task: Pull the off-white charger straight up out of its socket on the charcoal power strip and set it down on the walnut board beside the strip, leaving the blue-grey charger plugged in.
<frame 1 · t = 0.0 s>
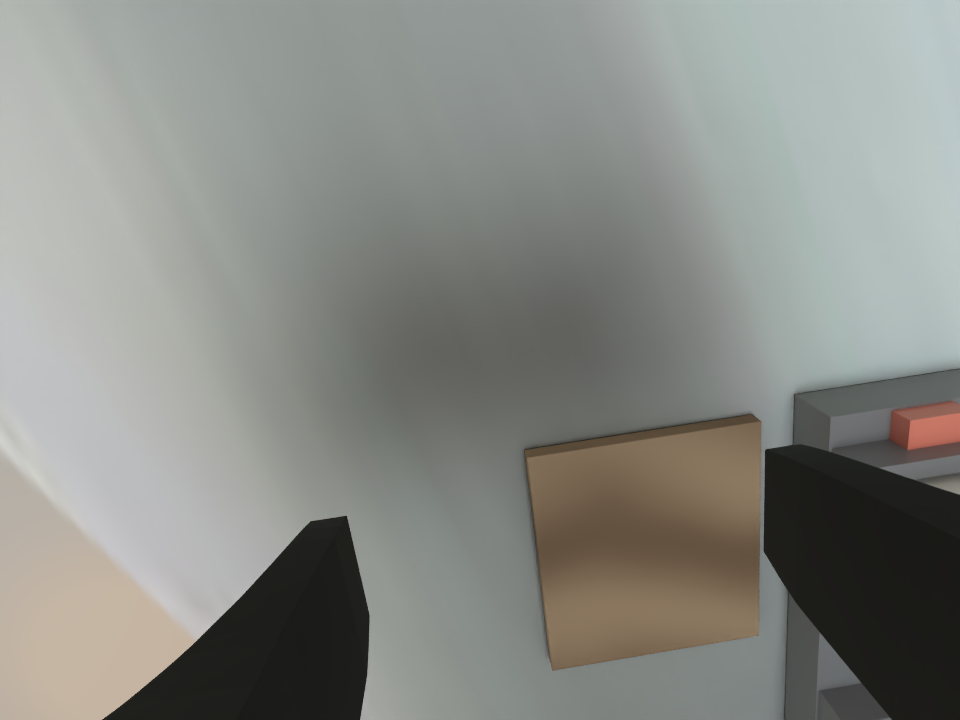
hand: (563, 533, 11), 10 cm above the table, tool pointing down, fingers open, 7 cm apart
white charger: (911, 512, 21), point 2 cm above the table, touching power strip
walnut board: (645, 543, 23), on the table
power strip: (862, 595, 24), on the table
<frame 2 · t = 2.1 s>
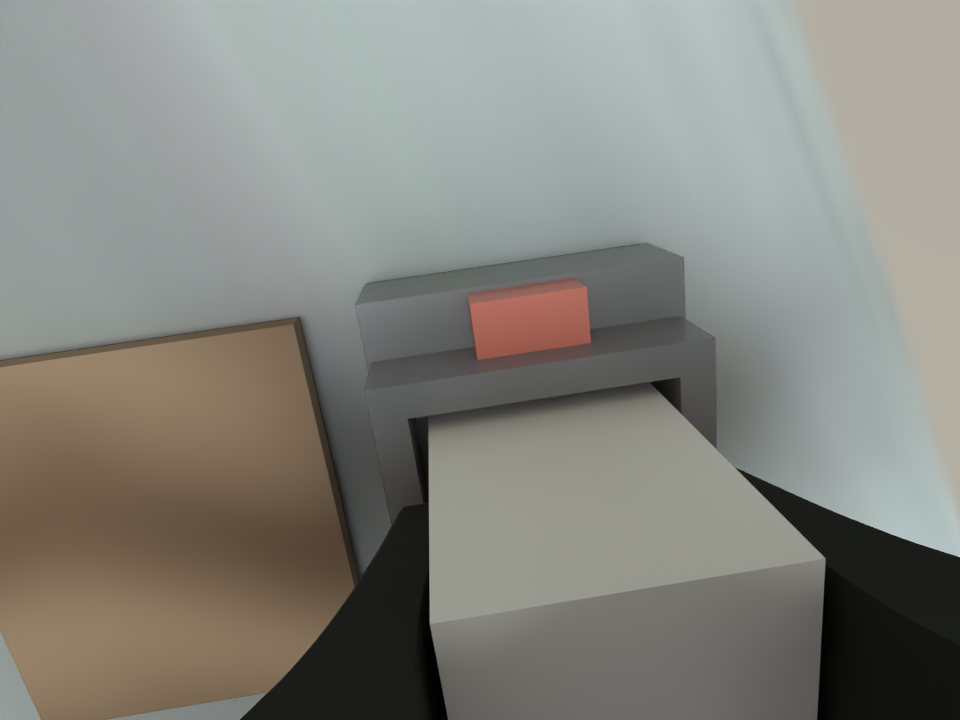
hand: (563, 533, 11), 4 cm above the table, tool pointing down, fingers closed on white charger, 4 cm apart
white charger: (542, 476, 12), point 2 cm above the table, touching gripper, power strip
walnut board: (168, 530, 14), on the table
power strip: (548, 611, 16), on the table
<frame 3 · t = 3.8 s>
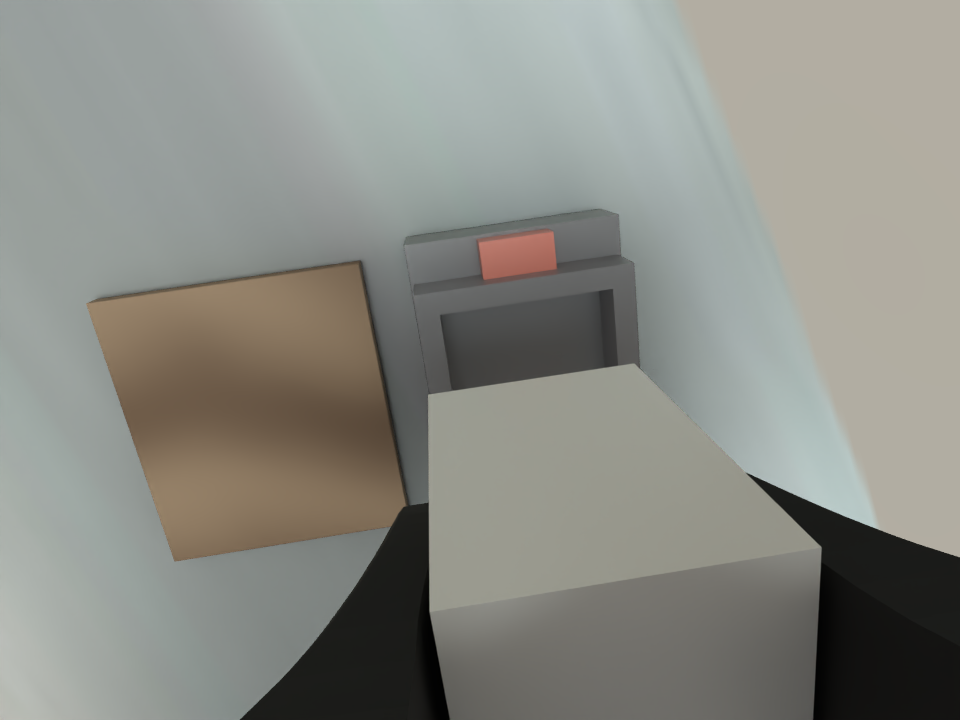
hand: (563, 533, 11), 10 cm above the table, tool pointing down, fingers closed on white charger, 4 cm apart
white charger: (542, 471, 13), point 8 cm above the table, touching gripper
walnut board: (265, 414, 20), on the table
power strip: (534, 481, 22), on the table
when the fingers open (4 cm above the table, at t = 5.9 s): white charger drops 1 cm, resting on walnut board.
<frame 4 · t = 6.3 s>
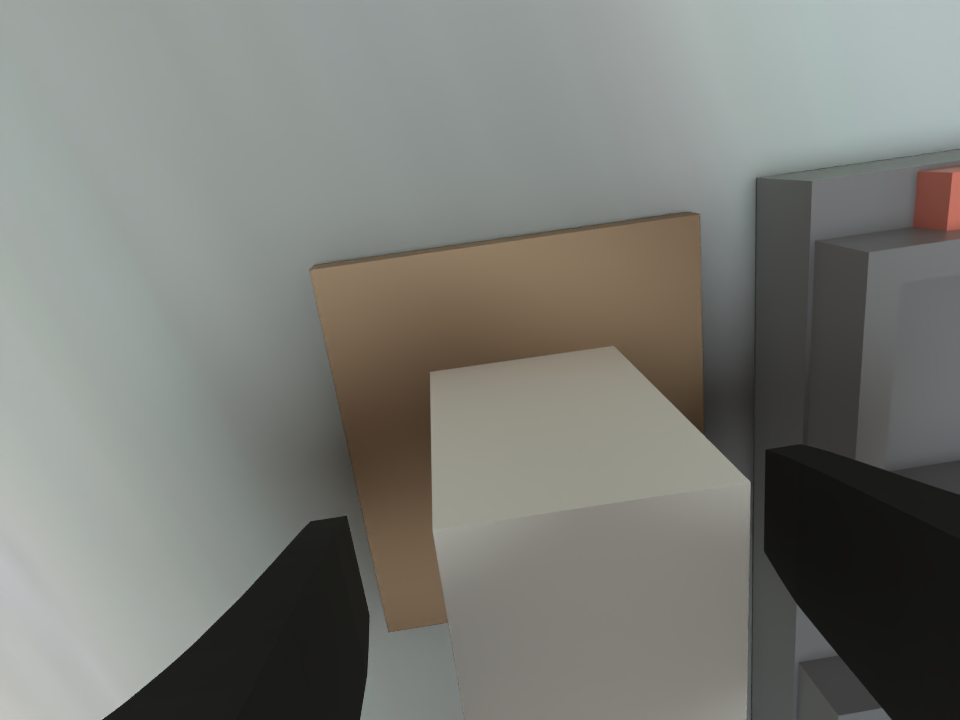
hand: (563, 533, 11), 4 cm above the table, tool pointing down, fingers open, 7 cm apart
white charger: (531, 442, 14), point 1 cm above the table, touching walnut board
walnut board: (526, 431, 15), on the table
power strip: (866, 520, 16), on the table
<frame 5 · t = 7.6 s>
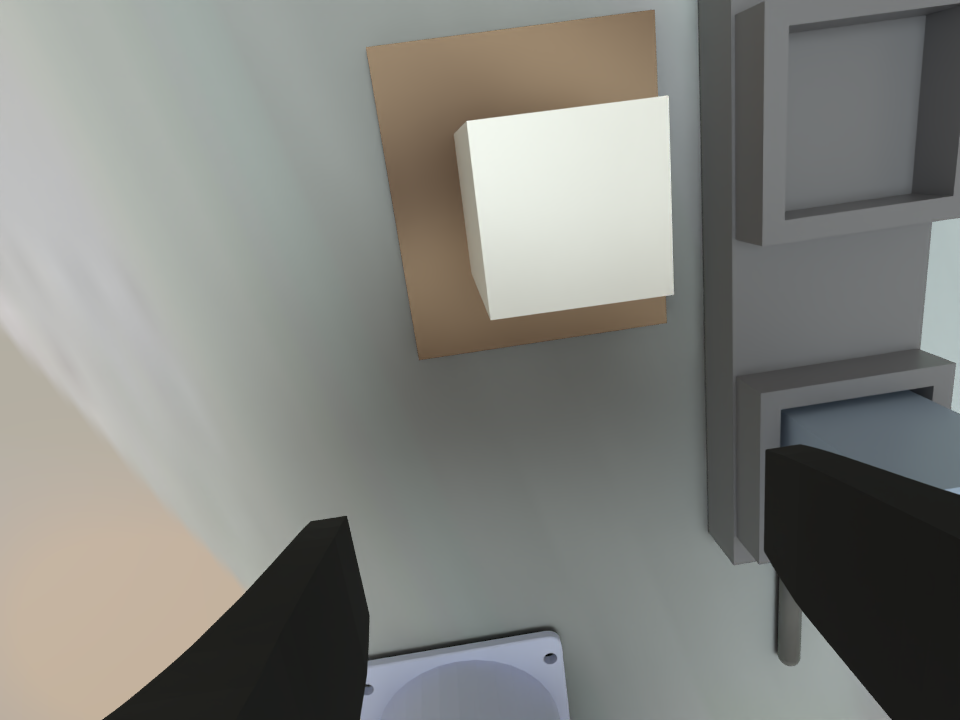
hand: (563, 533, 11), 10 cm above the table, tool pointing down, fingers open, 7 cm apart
white charger: (529, 197, 18), point 1 cm above the table, touching walnut board
blue charger: (823, 446, 20), point 2 cm above the table, touching power strip
walnut board: (525, 195, 19), on the table
power strip: (792, 284, 21), on the table
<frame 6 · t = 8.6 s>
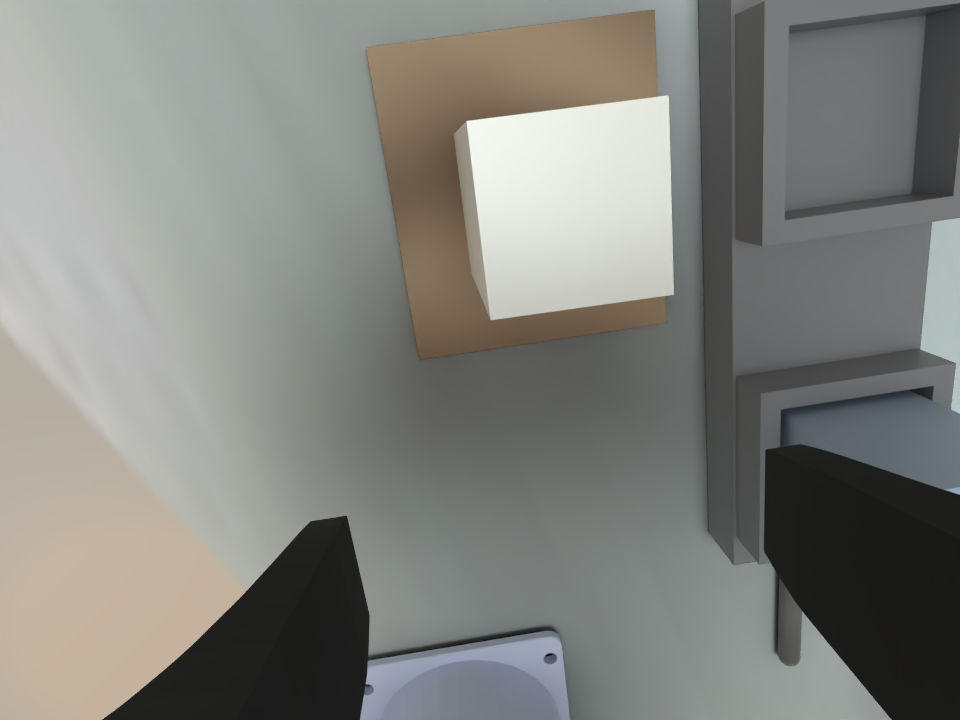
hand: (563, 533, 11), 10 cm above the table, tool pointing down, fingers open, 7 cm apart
white charger: (529, 197, 18), point 1 cm above the table, touching walnut board
blue charger: (823, 446, 20), point 2 cm above the table, touching power strip
walnut board: (525, 195, 19), on the table
power strip: (792, 284, 21), on the table
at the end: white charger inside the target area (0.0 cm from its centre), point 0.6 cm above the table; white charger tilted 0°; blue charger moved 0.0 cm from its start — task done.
